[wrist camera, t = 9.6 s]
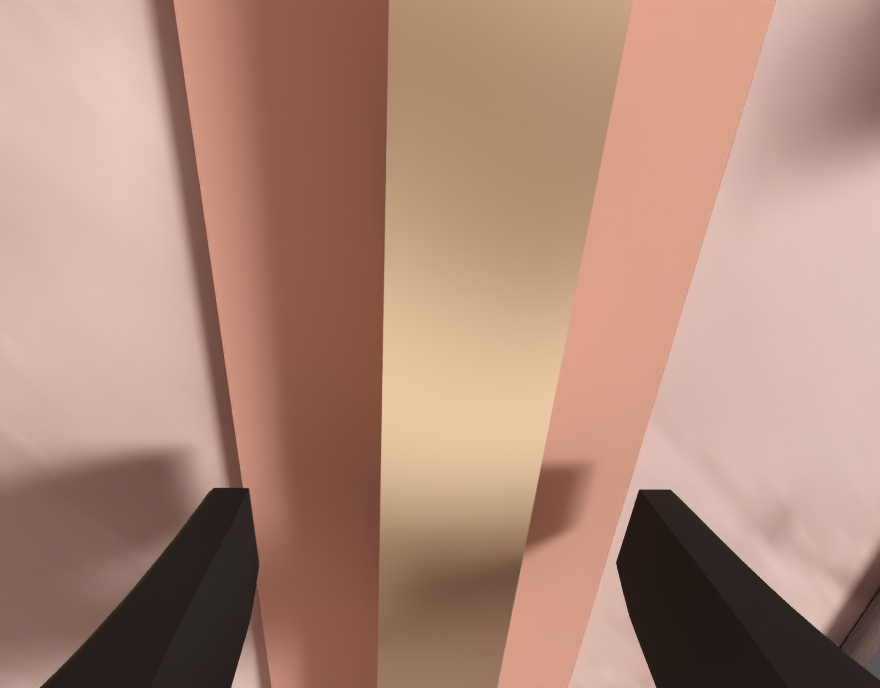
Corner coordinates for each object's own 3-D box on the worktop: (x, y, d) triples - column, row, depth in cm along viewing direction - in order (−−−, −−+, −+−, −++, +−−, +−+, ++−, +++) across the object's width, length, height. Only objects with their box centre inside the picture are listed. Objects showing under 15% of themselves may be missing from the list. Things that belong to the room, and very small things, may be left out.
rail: (454, 769, 19) (461, 867, 16) (376, 772, 18) (374, 872, 16) (626, -359, 6) (736, -525, 4) (398, -389, 6) (398, -576, 4)
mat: (540, 747, 19) (544, 765, 19) (286, 756, 19) (283, 774, 18) (849, -319, 7) (879, -339, 7) (130, -407, 6) (110, -436, 6)
